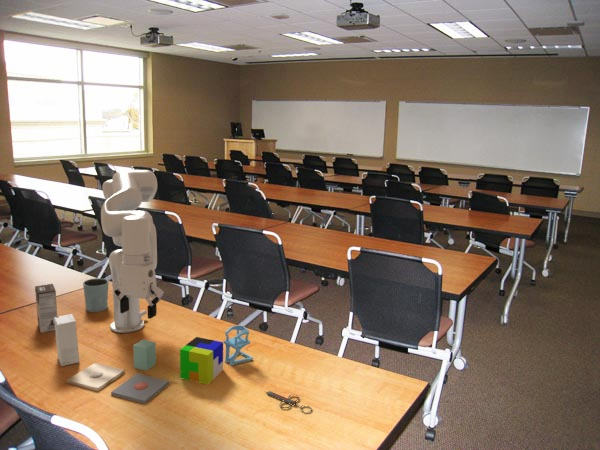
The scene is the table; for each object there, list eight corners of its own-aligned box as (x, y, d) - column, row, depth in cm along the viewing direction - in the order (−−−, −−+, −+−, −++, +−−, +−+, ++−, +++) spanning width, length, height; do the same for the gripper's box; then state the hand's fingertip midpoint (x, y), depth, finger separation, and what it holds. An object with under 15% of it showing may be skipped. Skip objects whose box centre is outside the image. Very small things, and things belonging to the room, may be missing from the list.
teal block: (143, 361, 165) (143, 339, 163) (156, 364, 163) (155, 342, 162) (134, 367, 160) (133, 345, 159) (146, 370, 159) (146, 348, 157)
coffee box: (37, 324, 190) (34, 285, 187) (55, 321, 194) (52, 283, 191) (40, 333, 183) (37, 293, 180) (59, 329, 187) (56, 290, 183)
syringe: (269, 387, 152) (269, 382, 152) (317, 407, 143) (317, 401, 142) (253, 398, 146) (253, 393, 146) (303, 419, 136) (303, 414, 136)
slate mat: (137, 376, 155) (137, 372, 155) (169, 383, 151) (169, 380, 151) (111, 394, 144) (111, 391, 144) (144, 403, 140) (144, 400, 140)
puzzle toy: (223, 370, 161) (223, 342, 159) (207, 384, 152) (207, 355, 150) (196, 364, 164) (196, 336, 162) (180, 378, 155) (179, 349, 153)
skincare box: (79, 362, 162) (77, 321, 159) (60, 367, 159) (56, 324, 156) (75, 352, 169) (73, 312, 166) (56, 356, 166) (53, 316, 163)
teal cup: (92, 303, 214) (91, 277, 212) (114, 305, 213) (113, 279, 210) (79, 311, 204) (77, 284, 202) (102, 313, 203) (100, 286, 201)
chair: (220, 360, 168) (220, 328, 165) (238, 352, 174) (239, 321, 171) (234, 368, 162) (234, 335, 160) (253, 359, 168) (253, 327, 166)
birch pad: (95, 365, 161) (94, 362, 160) (124, 372, 157) (124, 369, 157) (66, 382, 150) (66, 379, 149) (97, 391, 146) (97, 387, 145)
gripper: (169, 259, 140) (170, 314, 143) (120, 251, 145) (123, 305, 149) (153, 265, 133) (155, 324, 136) (102, 257, 139) (105, 314, 142)
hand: (138, 314), depth 143 cm, fingers open, 9 cm apart
